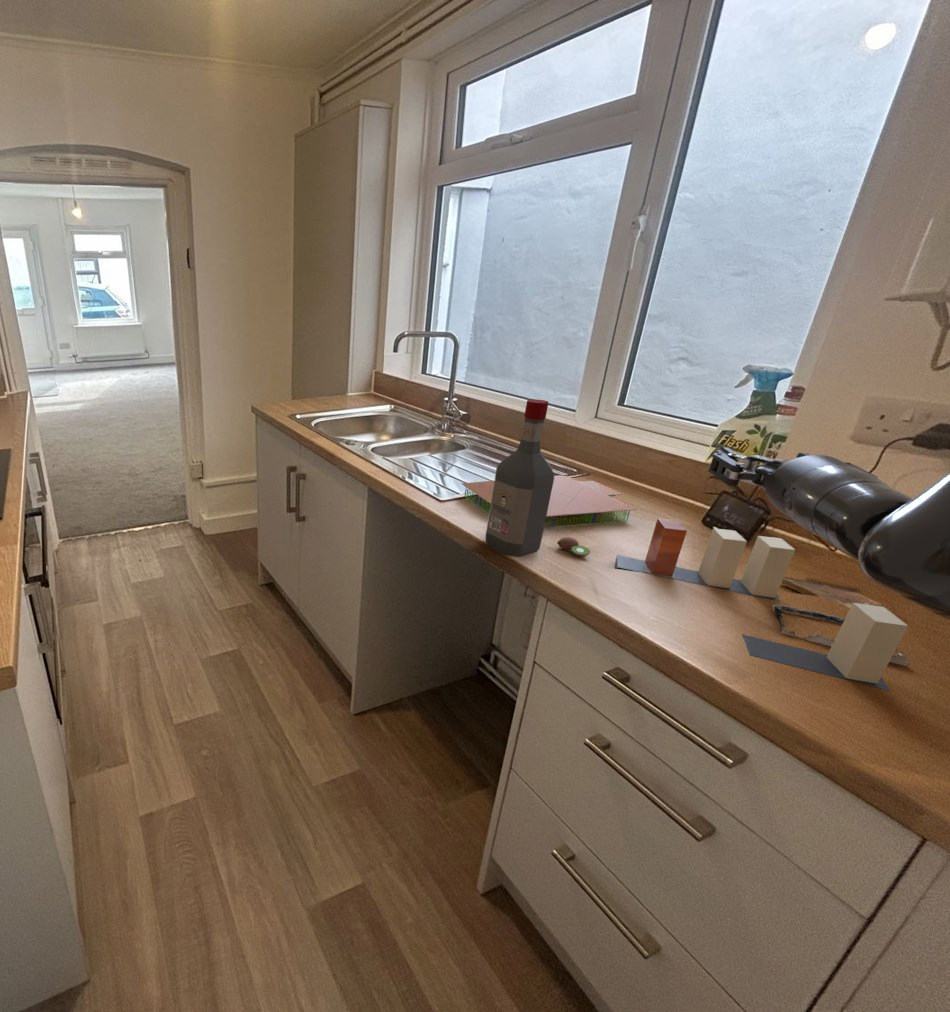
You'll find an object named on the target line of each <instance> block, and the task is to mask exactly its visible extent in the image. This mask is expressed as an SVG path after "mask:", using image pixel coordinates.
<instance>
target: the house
mask: <svg viewBox="0 0 950 1012" xmlns="http://www.w3.org/2000/svg"><path fill="white" fill-rule="evenodd" d="M494 481H495V480H485V481H473V482H462V483H461V485H462V486H464V487H465V489H464V497H465V498H466V499H468V500H469V502H472V503H474V504H475V506H477V507H479V508H480V509H481V510H483V512H485V513H487V514H488V515H489V511H490V506H491V500H492V494H493V487H494ZM616 496H623V493H621V492H619V491H617V490H615V489H612V488H610V487H608V486H606V485H603V484H602V483H600V482H597V481H595V480H577V479H576V478H573V477H572V476H571V477H570V476H569V475H562V474H560V475H554V482H553V486H552V491H551V496H550V501H549V506H548V511H547V515H546V520H545V525H548V526H549V527H551V528H554V524H555V527H556V528H559V527H564V523H565V525H567V524H568V527H573V526H577V523H578V525H581V526H587V525H598V524H604V520H605V522H606V524H611V523H612V524H613V523H624V522H625V523H626V522H628V519H629V516H630V513H631V511H637V508H635V507H634V506H631V505H629V504H627V503H625V502H623V501H620V500H619V499H616V498H614V497H616ZM600 513H601V514H600ZM603 513H604V515H603ZM606 513H607V515H606ZM609 514H610V515H609ZM582 515H583V516H582ZM596 515H597V516H596ZM559 516H560V519H559ZM563 516H564V517H563ZM566 516H567V518H566ZM569 516H570V518H569ZM572 516H573V517H572ZM556 517H557V519H556ZM599 517H600V518H599ZM602 517H603V518H602ZM605 517H606V519H605ZM608 517H609V520H608ZM612 517H613V518H612ZM562 518H563V519H562ZM611 518H612V520H611ZM575 519H576V520H575ZM578 519H579V521H578ZM581 519H582V523H581ZM595 519H596V522H595ZM598 519H599V522H598ZM614 519H615V521H614ZM617 519H618V521H617ZM620 519H621V521H620ZM562 520H563V521H562ZM565 520H566V522H565ZM568 520H569V523H568ZM571 520H572V521H571ZM601 520H602V522H601ZM555 521H556V523H555ZM558 521H559V524H558ZM584 521H585V523H584ZM607 521H608V522H607ZM561 522H562V525H561ZM571 522H572V524H571ZM574 522H575V524H574ZM587 522H588V523H587ZM549 523H550V524H549ZM580 523H581V524H580ZM557 524H558V525H557Z"/></svg>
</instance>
